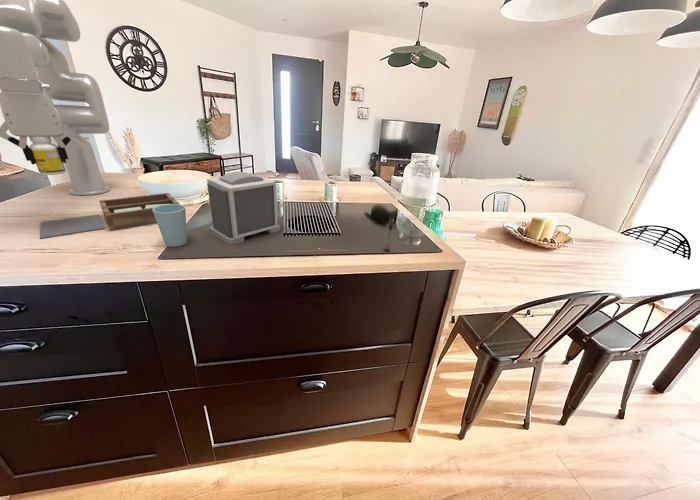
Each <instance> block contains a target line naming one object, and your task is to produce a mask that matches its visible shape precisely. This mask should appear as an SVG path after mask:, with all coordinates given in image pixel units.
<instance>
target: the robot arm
mask: <svg viewBox="0 0 700 500" xmlns="http://www.w3.org/2000/svg"><path fill="white" fill-rule="evenodd" d="M80 30H81V29H80V27H79V24H78V22H77V20H76V18H75V16H74V15H73V13H72V11H71V9H70V7H69V6H68V5H67V3H66V2H65V1H64V0H0V109H1V113H2V116H3V120H4V122H3V123H2V124H1V125H0V138H2V139H3V140H6V141H8V142H10V143H12V144H13V145H15V146H17V147H19V148H20V149H21V150H22V152H23V155H24V158H25V160H26V161H28V162H29V161H30V163H31V165H36V163H35V160H34V158H33V155H32V153H31V150H30V146H29V145H28V143H27V142H28V141H27V140H28V138H29V137H50V138H51V137H52V138H53V141H55V143H56V144H57V147H58V151H59V153H60V156H61V159H62V162H63V164H64V167H65V170H66V173H67V175H68V177H69V179H70V182H71V186H72V187H71V188H69V189H68V192H69V194H70V195H74V196H90V195H91V196H93V195H100V194H104V193H107V192H109V191H110V189H111V188H110V186H108V185H107V184H106V185H105V184H104V182H103V178H102V175H101V171H100V168H99V164H98V161H97V158H96V155H95V152H94V148H93V146H92V144H91V143H90V142H89V141H88V140H87V139H86V138H84V136H82V135H81V134H88V135H89V134H96V135H97V134H98V135H101V134H107V133H109V131H110V123H109V118H108V114H107V111H106V107H105V104H104V99H103V94H102V92H101V88H100V86H99V84H98V82H97V80H96V79H95V77H93V76H91V75H90V74H87V73H80V72H71V71H70V70H69V66H68V62H67V58H66V56H65V55H64V53H62V52H61V51H60V50H59V49H58V48H57V47H56V46H55V45H54V44H53V43H52V42H50V41H49V39H50V40H56V41H65V42H69V43H73V42H74V43H75V42H76V43H77V42H79V40H80V39H81V31H80ZM47 39H48V40H47ZM53 100H54V101H61V102H70V103H71V102H73V103H75V102H76V103H86V104H88V105H87V106H86V105H75V104H54V101H53ZM7 132H9V133H10V134H11V135H9V134H8V133H7ZM12 135H13V136H12ZM14 136H15V137H14ZM16 137H19V138H16Z"/></svg>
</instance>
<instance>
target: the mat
mask: <svg viewBox="0 0 700 500" xmlns="http://www.w3.org/2000/svg"><path fill="white" fill-rule="evenodd" d="M39 227H40V228H39V239H40V240H45V239H50V238H55V237H56V238H57V237H63V236H69V235H75V234H81V233H88V232H93V231H99V230H105V229H106V227H105V225H104V222H103V219H102V216H101V214H98V213H97V214H90V215H83V216H77V217H76V216H75V217H74V216H73V217H69V218H67V217H66V218H62V219H61V218H60V219H53V220H45V221H40V225H39Z"/></svg>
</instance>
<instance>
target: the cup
mask: <svg viewBox="0 0 700 500" xmlns="http://www.w3.org/2000/svg"><path fill="white" fill-rule="evenodd" d="M180 204H181V203H180ZM180 204H165V205H160V206H157V207H154V208H153V209H152V210H153V213H154V216H155V218H156V221H157V226H158V229H159V231H160V234H161V236H162V240H163V242H164V245H165V246H166V247H172V248H173V247H174V248H175V247H181V246H184V245H185V244H187V242H188V235H187V234H188V233H187V232H188V231H187V214H186V212H187V211H186V206H185V205H184V204H181V205H180Z"/></svg>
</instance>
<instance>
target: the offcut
mask: <svg viewBox="0 0 700 500" xmlns="http://www.w3.org/2000/svg"><path fill="white" fill-rule="evenodd" d="M139 209H142V208H141V207H134V208H126V209H119V210H114V213H117V212H124V211H132V210H139Z"/></svg>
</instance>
